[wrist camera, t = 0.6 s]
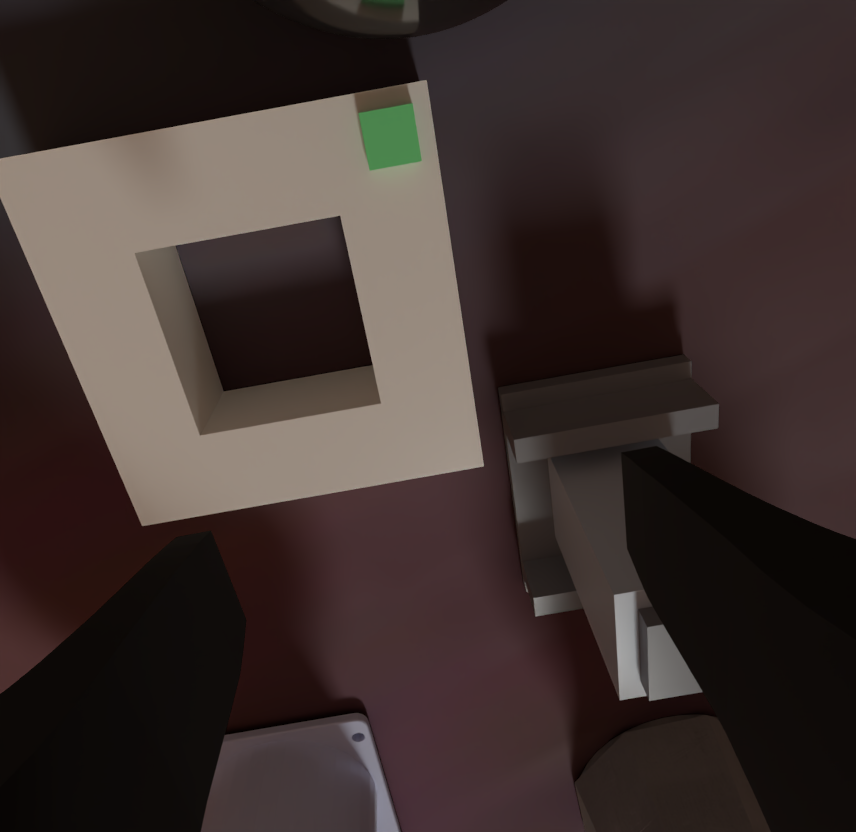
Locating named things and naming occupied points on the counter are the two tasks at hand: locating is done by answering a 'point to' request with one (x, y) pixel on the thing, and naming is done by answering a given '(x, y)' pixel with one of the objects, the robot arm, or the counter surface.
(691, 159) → the counter surface
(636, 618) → the plug
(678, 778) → the coffeepot
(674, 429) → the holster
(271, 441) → the port
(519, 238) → the counter surface
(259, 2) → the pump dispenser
